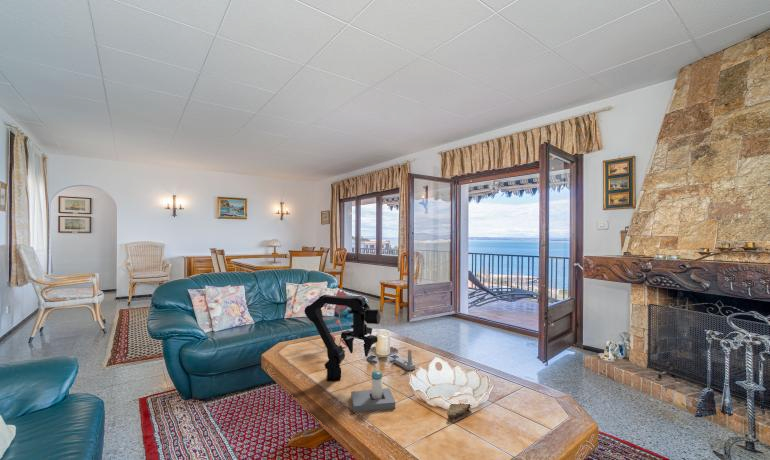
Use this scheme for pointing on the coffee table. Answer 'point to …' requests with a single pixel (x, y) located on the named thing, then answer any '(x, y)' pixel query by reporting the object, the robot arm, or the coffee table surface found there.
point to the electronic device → (406, 362)
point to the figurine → (339, 315)
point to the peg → (376, 385)
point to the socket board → (372, 401)
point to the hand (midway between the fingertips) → (358, 354)
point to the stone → (457, 410)
